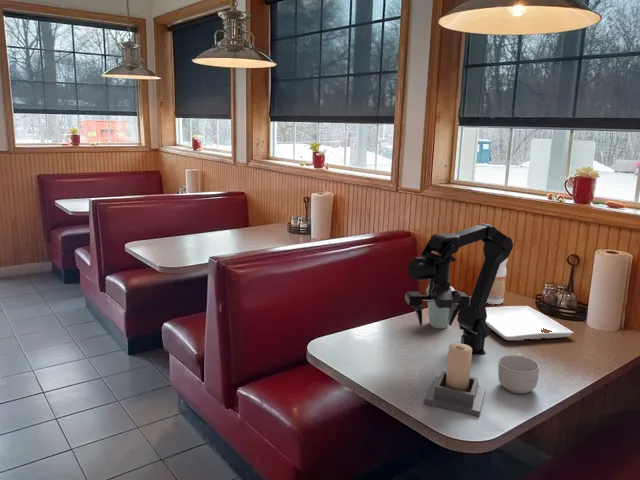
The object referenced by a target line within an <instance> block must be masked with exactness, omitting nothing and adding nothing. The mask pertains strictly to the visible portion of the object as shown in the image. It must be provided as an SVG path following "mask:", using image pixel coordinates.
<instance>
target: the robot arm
mask: <svg viewBox="0 0 640 480" xmlns="http://www.w3.org/2000/svg"><path fill="white" fill-rule="evenodd" d="M478 241H481V242H482V243H483V248H482V250H483V256H484V260H483V263H482V266H481V269H480V272H479V273H478V277H477V280H476V283H475V285H474V288H473V291H472V294H471V297H470V296H469V295H468V294H467V293H466V292H464V291H460V290H455V291H453V290H450V286H451V283H450V269H451V263H454V262H456V261H457V259H456V258H455V257H454V256H453V255H454V254H456V253H458V252H459V250H460V248H462V247H465V246H467V245H471V244H473V243H476V242H478ZM513 247H514V243H513V240H512V238H511V237H509V236H507V235H506V234H504V233H503V232H501V231H500V230H498V229H497V228H496V227H495V226H493V225H491V224H488V223H484V222H481V223H478V224H477V225H474V226H472V227H468V228H464V229H462V230H459V231H456V232H451V233H449V232H448V233H447V232H446V233H445V232H443V233H440V232H439V233H434V234H433V235H431V237H430V239H429V240H428V242H427V244H426V245H425V247H424V248H423V250H422V251H421V253H420V257H419V256H415V257H413V260H412V261H411V262H410V263H409V264H408V266H407V273H408V276H409V278H410V279H411V281H413V282H418V281H424V280H425V281H426V280H428V286H429V290H427V292H426V294H424V295H423V294H421V293H420V292H419V291H406V293H405V295H404V301H405V302H406V303H407V305H408V306H410V307H412V309H414V311H415V314H416V318H417V320H418V321H417V322H418V324H419V325H418V326H420V327H421V326H422V324H423V309H424V306H423V305H422V304H423V303H424V302H426V303H428V302H435V303H436V306H437V307H438V308H450V309H449V324H448V326H450V327H451V326H452V325H453V322H454V320H455V318H456V316H457V318H456V319H457V322H458V326H459V330H462V334H461V336H460V338H461V339H460V343H461V344H466V345H468V346H470V347H471V348H472V355H477V354H481V355H484V354H485V355H486V353H487V352H486V351H485V338H487V337H489V336H490V334H491V330H492V329H490V328H489V326H488V325H487V324H486V323H485V322H486V318H487V313H486V308H487V307H486V305H487V303H486V302H487V299H488V297H489V294H490V291H491V288H492V286H493V283H494V280H495V277H496V274H497V272H498V269H499V266H500V264H501V263H502V262H503V261H504V260H506V259H507V258H508V259H509V256H510V254H511V252H512V250H513ZM427 293H428V295H427Z"/></svg>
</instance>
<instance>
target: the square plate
mask: <svg viewBox="0 0 640 480" xmlns="http://www.w3.org/2000/svg"><path fill="white" fill-rule="evenodd" d="M485 308H486V313H487V318H486V322H485V323H486V324H487V325H488V326H489V328H491V330H492V331H493V332H494V333H496V334H497V335H499V337H501V338H503V339H504V340H506V341H525V340H524V339H531V340H541V339H542V338H545V339H556V338H565V337H569V336H571V335H573V334H574V331H572V330H570V329H569V328H568V327H565V326H564V325H562V323H561V324H560V322H557V321H556V320H555V319H552V318H550V317H549V316H547V315H545V314H543V313H542V312H540V311H538V310H536V309H534V308H532V307H531V306H528V305H509V306H507V305H506V306H505V305H504V306H489V307H488V306H487V307H485ZM543 328H544V329H547V330H550V331H552V332H549V333H544V332H543V333H542V332H541V329H542V330H543ZM542 340H543V339H542Z"/></svg>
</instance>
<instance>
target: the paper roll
mask: <svg viewBox="0 0 640 480" xmlns="http://www.w3.org/2000/svg"><path fill="white" fill-rule="evenodd" d="M447 354H448V355H447V365H446V372H447V374H446V385H445V387H447V388H451V389H456V390H460V391H465V392H468V387H469V377H471V367H472V356H473V354H472V348H471V347H470V346H468V345H466V344H461V342H453V343H450V344H449V345H448V351H447Z"/></svg>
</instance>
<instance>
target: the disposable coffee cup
mask: <svg viewBox="0 0 640 480" xmlns="http://www.w3.org/2000/svg"><path fill="white" fill-rule="evenodd" d="M425 290H426V291H425V293H426V295H428V293H427V290H429V285H428V286H427V287H426V289H425ZM450 290H453V291H456V290H455V288H454V287H453V286H451V285H450ZM427 309H428V320H429V321H428V322H429V324H430V326H431V327H432V328H435V329H446V328H448V326H449V309H450V308H438V307H437V306H436V303H435V302H427Z"/></svg>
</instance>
